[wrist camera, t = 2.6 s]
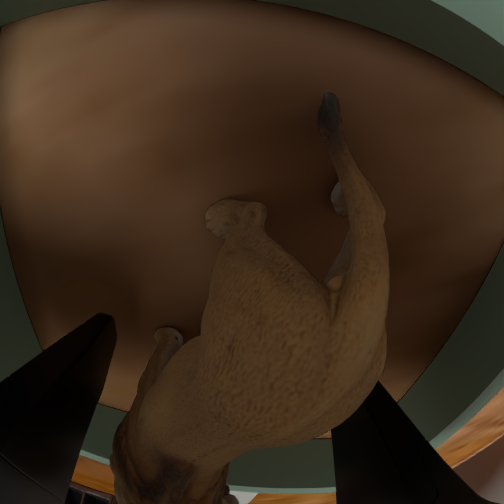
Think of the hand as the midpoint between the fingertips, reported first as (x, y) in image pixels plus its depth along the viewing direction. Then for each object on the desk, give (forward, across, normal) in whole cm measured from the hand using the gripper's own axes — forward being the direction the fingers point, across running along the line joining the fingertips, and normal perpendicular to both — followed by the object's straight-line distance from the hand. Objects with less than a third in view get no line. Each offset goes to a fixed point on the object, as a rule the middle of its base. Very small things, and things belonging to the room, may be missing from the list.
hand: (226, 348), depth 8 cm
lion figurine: (+2, 0, -1) cm, 2 cm away
